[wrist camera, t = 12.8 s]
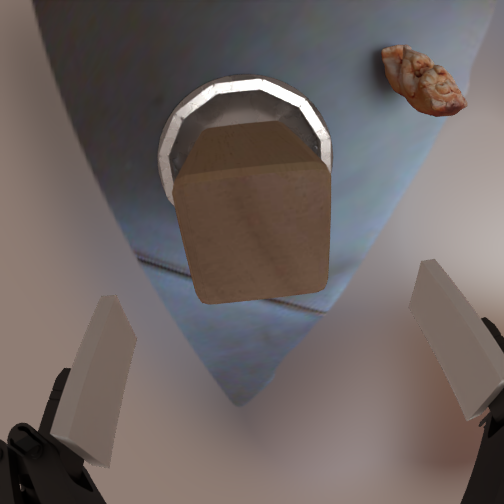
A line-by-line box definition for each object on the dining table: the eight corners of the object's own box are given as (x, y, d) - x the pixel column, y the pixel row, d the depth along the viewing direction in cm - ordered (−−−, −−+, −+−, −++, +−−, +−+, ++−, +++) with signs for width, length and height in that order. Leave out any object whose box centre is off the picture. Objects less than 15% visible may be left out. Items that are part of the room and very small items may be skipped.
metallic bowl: (145, 89, 32) (140, 90, 30) (328, 70, 32) (334, 70, 30) (176, 245, 43) (174, 254, 41) (330, 228, 43) (334, 237, 41)
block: (211, 203, 39) (197, 311, 23) (199, 128, 34) (165, 183, 17) (288, 194, 39) (330, 295, 23) (283, 118, 34) (336, 164, 17)
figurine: (396, 43, 29) (471, 41, 16) (412, 96, 33) (486, 117, 20) (356, 51, 30) (422, 46, 17) (374, 106, 34) (442, 129, 21)
